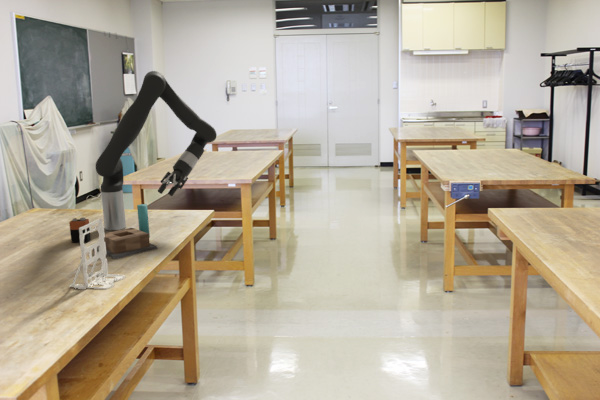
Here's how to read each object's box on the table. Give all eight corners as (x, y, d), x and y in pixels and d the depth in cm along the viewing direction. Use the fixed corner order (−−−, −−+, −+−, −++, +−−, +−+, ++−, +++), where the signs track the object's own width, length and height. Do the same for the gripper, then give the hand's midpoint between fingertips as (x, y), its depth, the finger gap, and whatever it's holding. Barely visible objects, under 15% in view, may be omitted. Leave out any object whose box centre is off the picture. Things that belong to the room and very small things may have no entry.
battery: (87, 242, 241) (85, 219, 239) (71, 243, 241) (68, 219, 239) (91, 239, 246) (88, 216, 243) (75, 240, 246) (72, 217, 244)
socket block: (93, 249, 231) (91, 234, 229) (135, 240, 243) (133, 225, 241) (114, 259, 218) (112, 243, 216) (157, 248, 230) (156, 233, 228)
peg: (138, 237, 247) (135, 205, 244) (146, 235, 249) (144, 203, 247) (142, 239, 244) (140, 206, 241) (151, 237, 247) (148, 205, 244)
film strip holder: (107, 290, 185) (101, 229, 181) (67, 288, 188) (60, 228, 184) (128, 275, 199) (123, 218, 195) (91, 274, 202) (85, 217, 197)
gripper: (171, 157, 258) (150, 186, 253) (189, 160, 248) (167, 190, 243) (182, 167, 263) (161, 196, 258) (200, 170, 253) (179, 201, 248)
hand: (164, 193), depth 250 cm, fingers open, 8 cm apart
